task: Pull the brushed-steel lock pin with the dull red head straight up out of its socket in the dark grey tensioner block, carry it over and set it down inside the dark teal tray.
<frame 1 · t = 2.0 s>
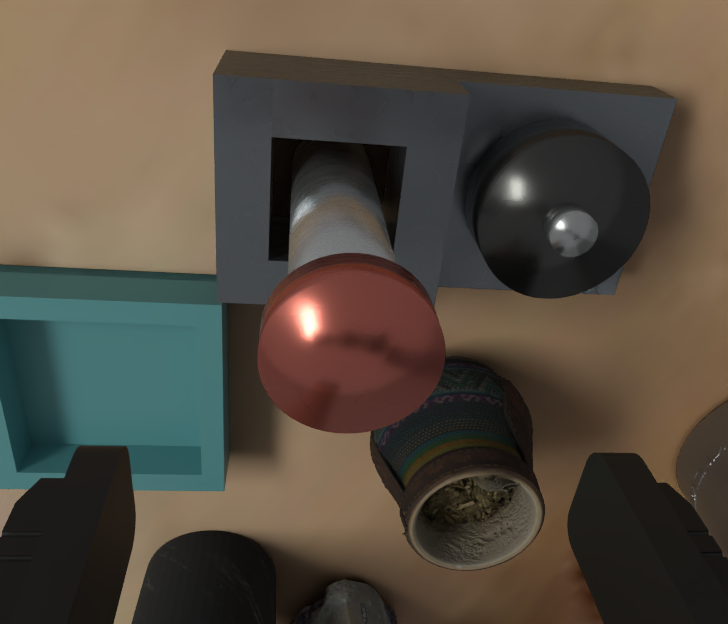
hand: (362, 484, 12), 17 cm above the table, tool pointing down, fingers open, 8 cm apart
lock pin: (330, 166, 26), resting in tensioner block
mate gourd: (438, 392, 33), on the table
travel mug: (212, 570, 38), on the table
tray: (115, 368, 30), on the table
tensioner block: (431, 173, 27), on the table
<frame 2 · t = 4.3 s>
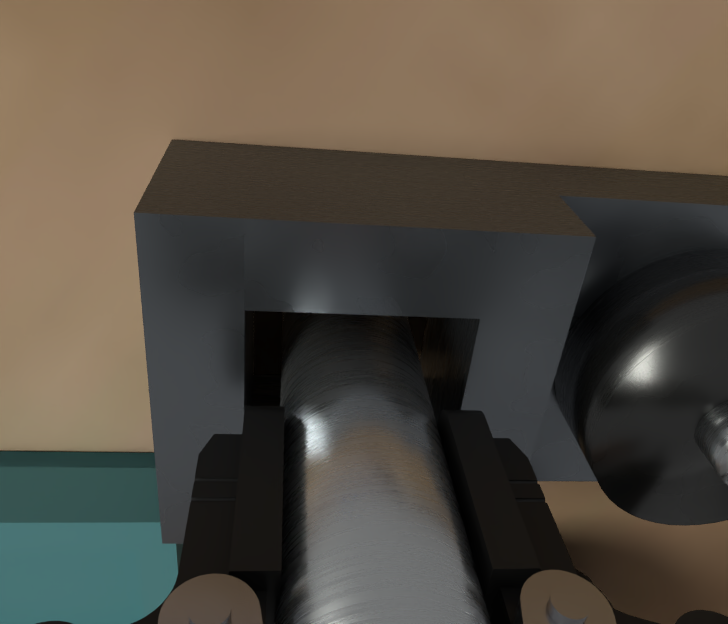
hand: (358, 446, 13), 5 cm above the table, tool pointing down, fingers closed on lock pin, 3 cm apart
lock pin: (342, 306, 17), resting in tensioner block, touching gripper
tray: (29, 571, 21), on the table
tensioner block: (496, 312, 17), on the table
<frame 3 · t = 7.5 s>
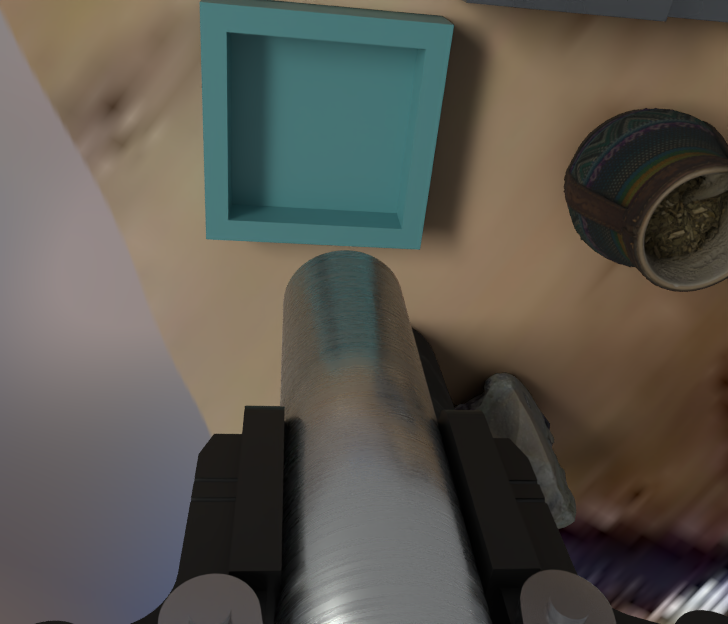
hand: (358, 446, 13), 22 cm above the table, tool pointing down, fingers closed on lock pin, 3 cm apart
lock pin: (343, 304, 17), point 17 cm above the table, touching gripper
mate gourd: (618, 162, 34), on the table
travel mug: (374, 368, 39), on the table
tray: (320, 123, 31), on the table
mineral rock: (438, 438, 42), on the table
when the fingers open (7 cm above the table, at t = 10.7 s): lock pin drops 1 cm, resting on tray.
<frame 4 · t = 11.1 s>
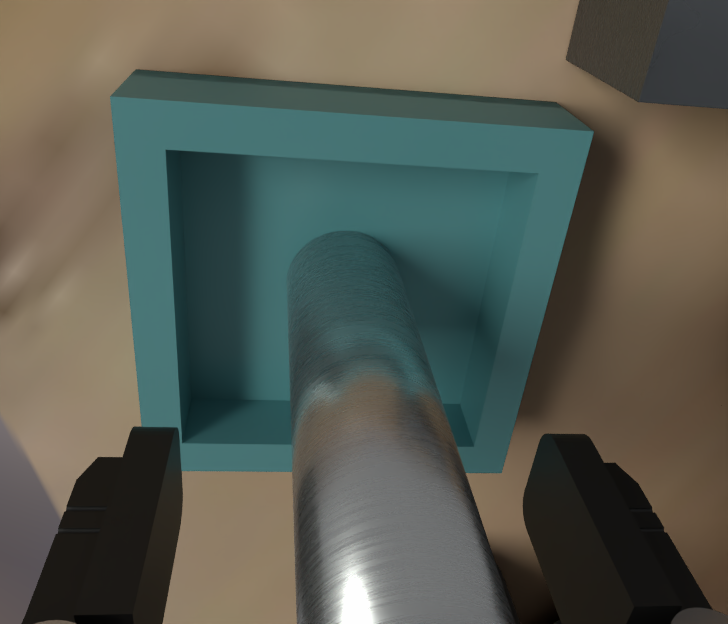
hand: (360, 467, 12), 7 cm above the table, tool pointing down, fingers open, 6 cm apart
lock pin: (343, 282, 18), point 1 cm above the table, touching tray
tray: (338, 273, 19), on the table
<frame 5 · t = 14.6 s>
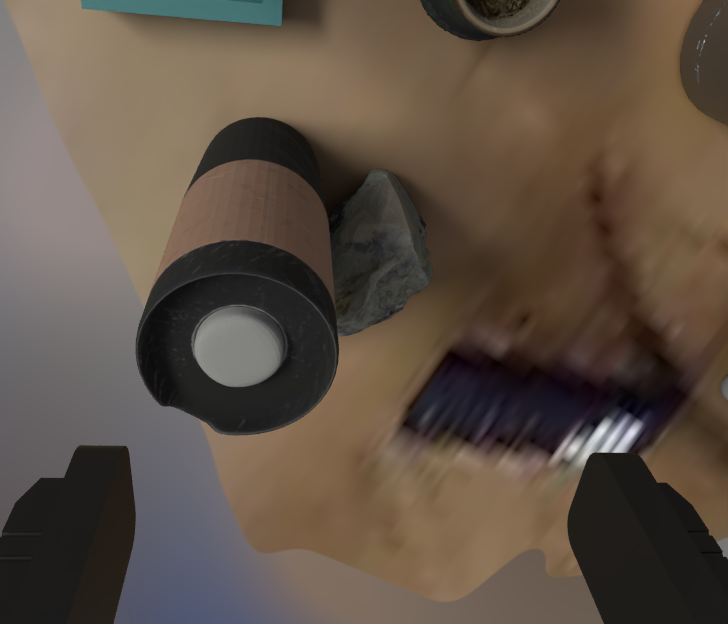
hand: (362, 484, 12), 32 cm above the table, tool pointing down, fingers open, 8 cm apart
travel mug: (261, 172, 42), on the table
mineral rock: (325, 244, 45), on the table
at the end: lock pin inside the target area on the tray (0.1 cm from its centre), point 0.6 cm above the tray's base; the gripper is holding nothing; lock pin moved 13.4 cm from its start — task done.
